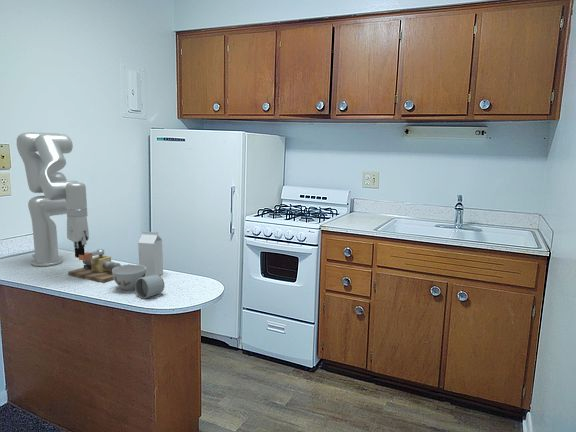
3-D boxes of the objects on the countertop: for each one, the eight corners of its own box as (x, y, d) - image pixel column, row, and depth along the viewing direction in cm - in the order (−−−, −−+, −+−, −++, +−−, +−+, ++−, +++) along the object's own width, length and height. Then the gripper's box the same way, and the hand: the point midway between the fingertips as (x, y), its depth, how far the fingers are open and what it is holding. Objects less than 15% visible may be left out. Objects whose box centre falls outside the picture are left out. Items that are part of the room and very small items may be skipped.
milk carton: (155, 278, 178) (153, 234, 175) (139, 277, 179) (137, 233, 176) (163, 273, 185) (161, 230, 182) (148, 272, 186) (146, 230, 183)
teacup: (129, 295, 157) (128, 274, 156) (105, 290, 163) (104, 270, 161) (158, 284, 170) (157, 265, 169) (135, 279, 176) (134, 261, 175)
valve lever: (100, 253, 184) (100, 248, 183) (105, 254, 183) (105, 249, 182) (78, 259, 173) (78, 254, 173) (84, 260, 172) (83, 255, 172)
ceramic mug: (166, 294, 159) (165, 274, 158) (148, 300, 152) (147, 280, 151) (147, 289, 165) (146, 270, 164) (129, 295, 158) (128, 275, 157)
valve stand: (68, 274, 181) (66, 255, 180) (100, 265, 195) (99, 247, 194) (103, 283, 171) (102, 262, 170) (134, 272, 185) (133, 254, 184)
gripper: (59, 212, 174) (62, 255, 177) (76, 216, 165) (79, 262, 168) (78, 210, 180) (80, 252, 183) (95, 214, 171) (97, 258, 174)
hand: (80, 256), depth 175 cm, fingers closed
